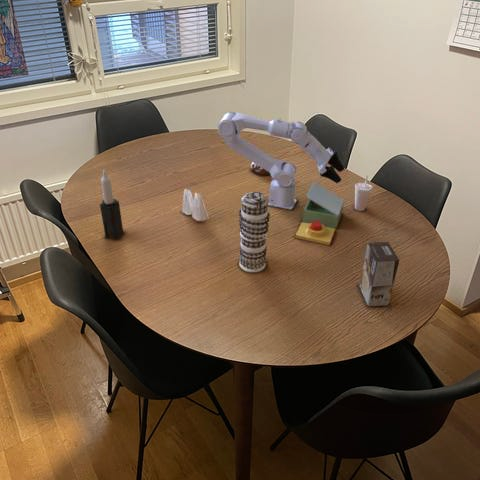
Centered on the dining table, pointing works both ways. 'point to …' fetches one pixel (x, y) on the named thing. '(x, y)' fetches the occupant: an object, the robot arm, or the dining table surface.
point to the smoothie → (362, 195)
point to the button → (316, 226)
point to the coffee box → (378, 273)
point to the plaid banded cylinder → (253, 231)
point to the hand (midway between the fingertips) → (340, 175)
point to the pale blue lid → (325, 198)
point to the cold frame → (320, 215)
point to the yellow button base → (315, 234)
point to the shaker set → (194, 206)
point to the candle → (110, 211)
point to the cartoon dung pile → (258, 169)
